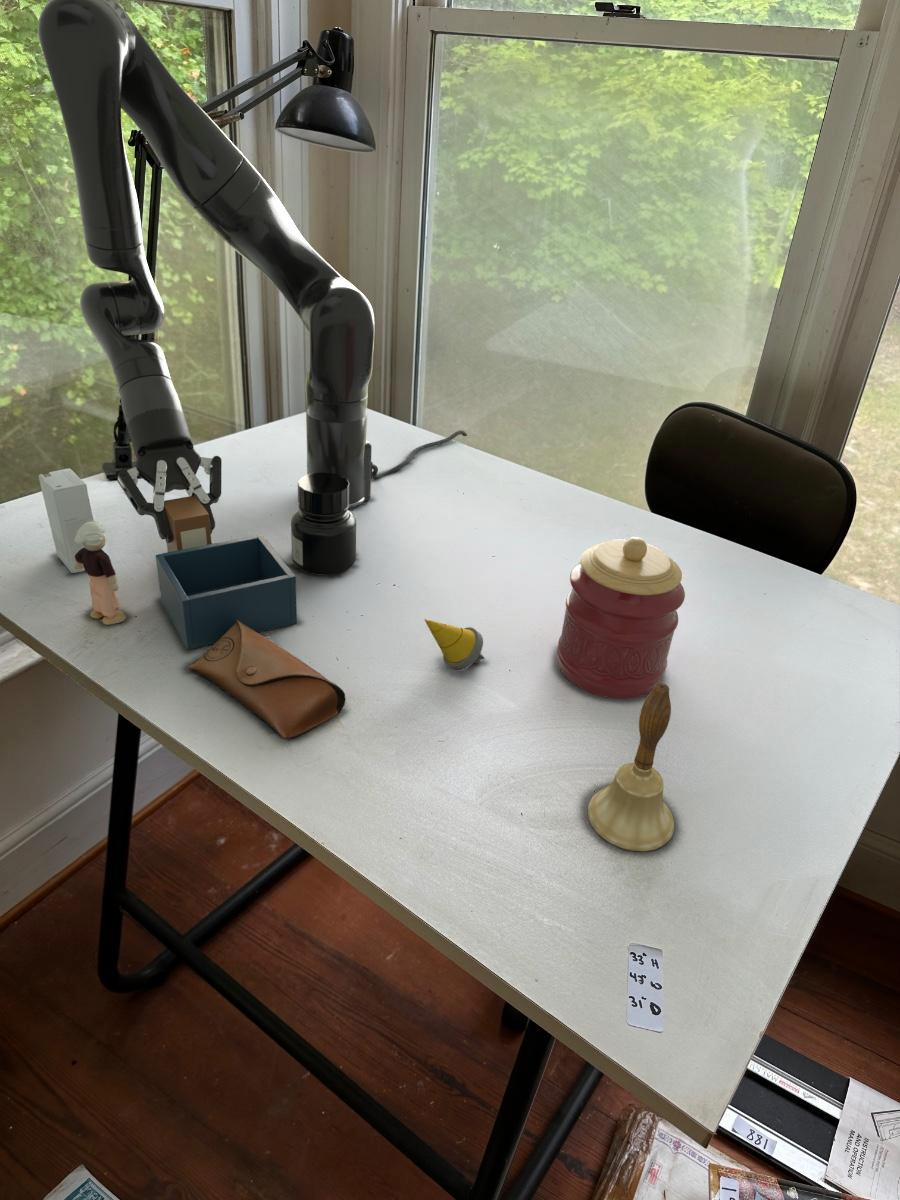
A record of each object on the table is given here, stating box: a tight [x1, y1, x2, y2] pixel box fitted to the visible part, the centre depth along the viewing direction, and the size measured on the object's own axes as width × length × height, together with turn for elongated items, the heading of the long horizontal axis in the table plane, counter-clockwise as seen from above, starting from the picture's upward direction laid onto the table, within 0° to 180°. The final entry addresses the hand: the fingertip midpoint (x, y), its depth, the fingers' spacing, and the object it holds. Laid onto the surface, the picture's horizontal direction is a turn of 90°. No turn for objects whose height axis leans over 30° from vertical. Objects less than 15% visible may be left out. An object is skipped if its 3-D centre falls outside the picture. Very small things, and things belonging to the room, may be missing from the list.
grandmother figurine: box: [74, 520, 127, 626], centre depth 101 cm, size 8×4×13 cm, turn 65°
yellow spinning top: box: [424, 618, 486, 672], centre depth 99 cm, size 5×5×10 cm
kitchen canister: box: [556, 536, 686, 700], centre depth 98 cm, size 13×13×18 cm
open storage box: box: [155, 534, 298, 651], centre depth 105 cm, size 14×12×7 cm
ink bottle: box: [290, 472, 358, 576], centre depth 116 cm, size 10×9×12 cm
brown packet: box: [164, 495, 213, 552], centre depth 113 cm, size 4×6×8 cm
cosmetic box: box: [38, 467, 94, 574], centre depth 111 cm, size 6×4×12 cm
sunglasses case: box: [187, 620, 346, 739], centre depth 94 cm, size 18×7×7 cm
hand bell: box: [587, 682, 675, 852], centre depth 77 cm, size 8×8×16 cm
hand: (189, 536), depth 112 cm, fingers closed on brown packet, 4 cm apart
